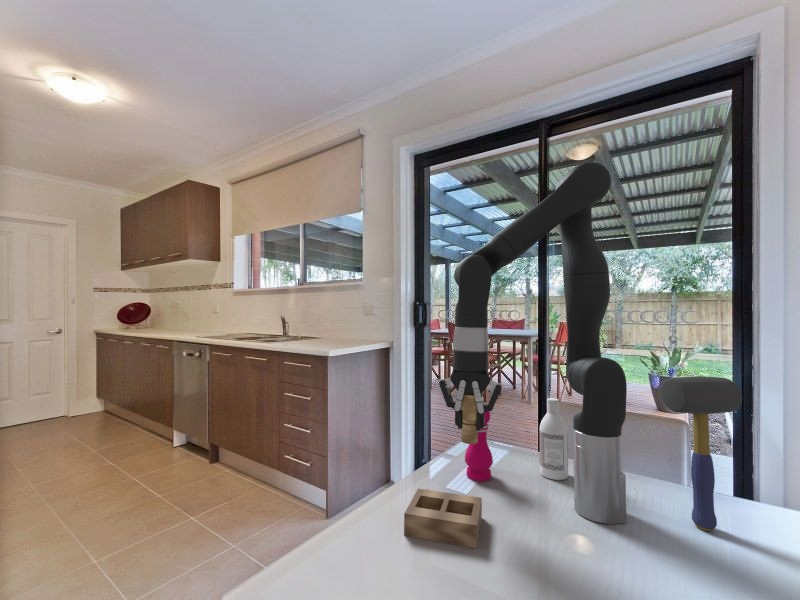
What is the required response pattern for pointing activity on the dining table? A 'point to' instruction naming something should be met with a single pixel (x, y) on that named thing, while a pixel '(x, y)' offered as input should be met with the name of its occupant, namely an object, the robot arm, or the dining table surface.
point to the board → (444, 517)
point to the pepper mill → (479, 456)
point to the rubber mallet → (701, 432)
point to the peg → (469, 420)
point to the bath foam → (553, 443)
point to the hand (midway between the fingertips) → (469, 428)
